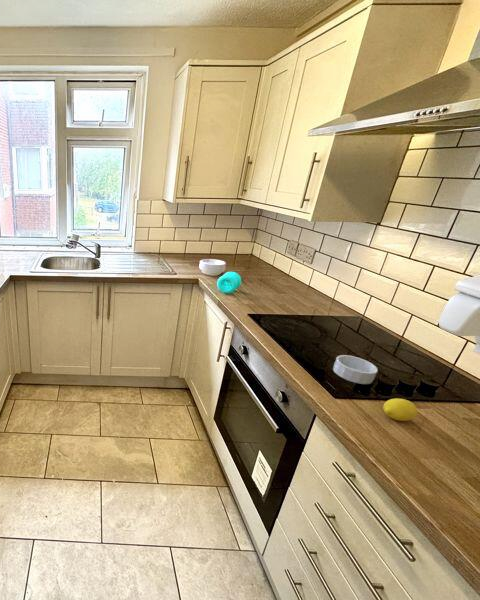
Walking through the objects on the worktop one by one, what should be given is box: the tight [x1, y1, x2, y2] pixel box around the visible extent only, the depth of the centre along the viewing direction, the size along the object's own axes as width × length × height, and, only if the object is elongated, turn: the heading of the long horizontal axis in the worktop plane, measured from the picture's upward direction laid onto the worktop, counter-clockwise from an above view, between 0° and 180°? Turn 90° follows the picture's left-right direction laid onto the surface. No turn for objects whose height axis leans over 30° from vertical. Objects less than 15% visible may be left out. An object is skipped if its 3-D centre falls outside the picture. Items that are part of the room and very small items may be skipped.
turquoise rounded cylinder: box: [216, 271, 242, 294], centre depth 168 cm, size 10×10×10 cm
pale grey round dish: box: [332, 354, 379, 385], centre depth 100 cm, size 10×10×4 cm
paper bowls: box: [198, 258, 227, 277], centre depth 197 cm, size 15×15×8 cm
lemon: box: [382, 397, 419, 422], centre depth 82 cm, size 6×6×8 cm
